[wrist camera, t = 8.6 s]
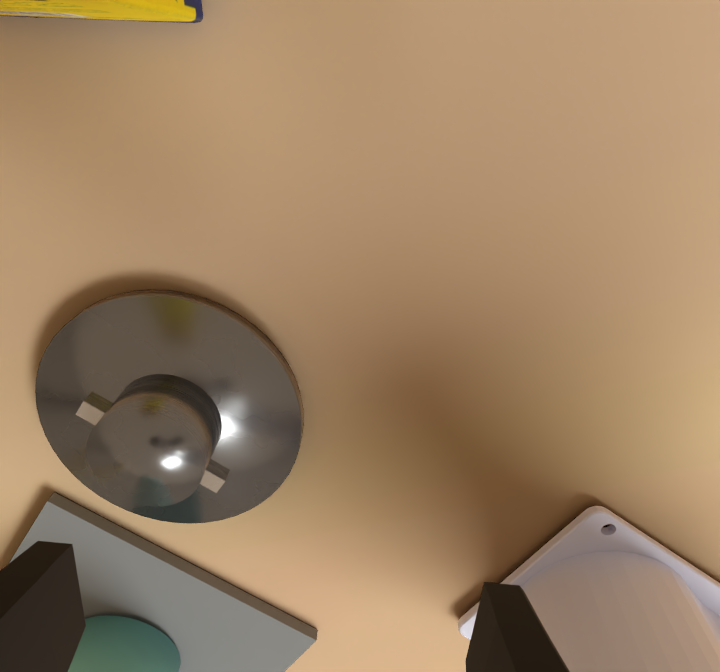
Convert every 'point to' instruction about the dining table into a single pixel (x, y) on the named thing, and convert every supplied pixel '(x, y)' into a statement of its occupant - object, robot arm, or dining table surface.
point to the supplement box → (107, 9)
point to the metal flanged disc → (170, 406)
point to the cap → (124, 647)
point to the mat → (170, 595)
